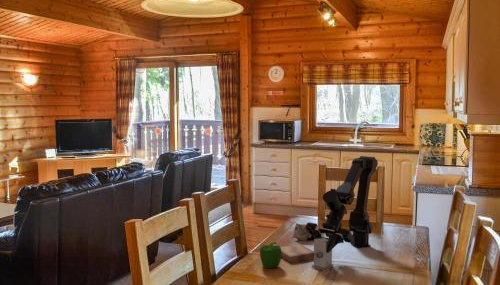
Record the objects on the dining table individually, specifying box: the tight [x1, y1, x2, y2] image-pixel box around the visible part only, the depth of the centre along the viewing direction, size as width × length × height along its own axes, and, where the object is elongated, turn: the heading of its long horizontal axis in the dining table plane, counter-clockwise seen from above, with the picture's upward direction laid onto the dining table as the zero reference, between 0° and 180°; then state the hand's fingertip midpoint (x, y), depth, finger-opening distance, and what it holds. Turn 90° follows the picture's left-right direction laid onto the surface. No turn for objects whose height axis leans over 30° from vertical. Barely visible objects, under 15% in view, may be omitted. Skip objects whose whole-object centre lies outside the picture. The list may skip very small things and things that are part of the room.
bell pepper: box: [259, 241, 282, 269], centre depth 189 cm, size 8×8×10 cm
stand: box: [280, 243, 314, 264], centre depth 201 cm, size 12×12×3 cm
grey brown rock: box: [292, 222, 314, 242], centre depth 226 cm, size 7×11×10 cm
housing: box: [311, 236, 335, 272], centre depth 188 cm, size 6×6×11 cm
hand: (321, 251), depth 187 cm, fingers closed on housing, 5 cm apart
